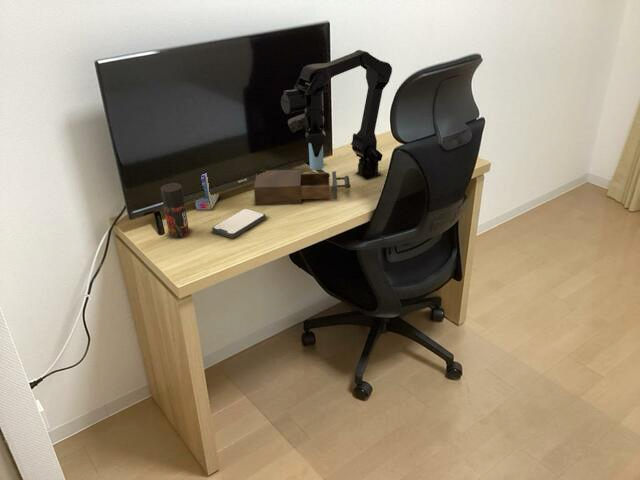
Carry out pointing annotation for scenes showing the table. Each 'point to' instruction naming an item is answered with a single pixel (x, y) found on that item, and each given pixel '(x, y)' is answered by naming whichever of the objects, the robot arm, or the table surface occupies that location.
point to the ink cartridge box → (206, 196)
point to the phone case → (238, 223)
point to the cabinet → (278, 187)
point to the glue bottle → (315, 159)
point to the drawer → (320, 185)
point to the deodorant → (175, 210)
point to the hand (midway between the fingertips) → (316, 153)
